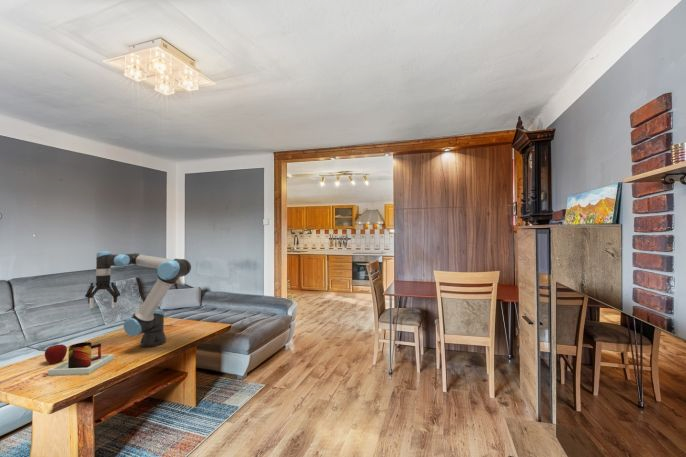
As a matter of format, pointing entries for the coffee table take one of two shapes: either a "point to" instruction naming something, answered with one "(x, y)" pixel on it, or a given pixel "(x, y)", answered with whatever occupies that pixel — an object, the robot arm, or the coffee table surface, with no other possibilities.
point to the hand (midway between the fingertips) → (102, 307)
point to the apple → (55, 353)
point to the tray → (95, 365)
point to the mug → (82, 355)
